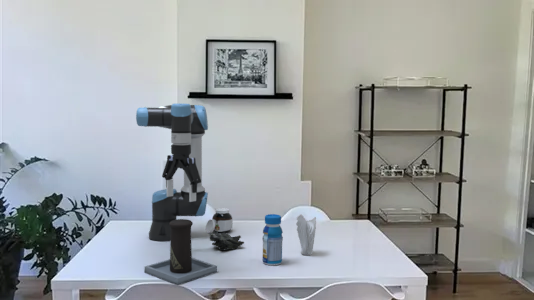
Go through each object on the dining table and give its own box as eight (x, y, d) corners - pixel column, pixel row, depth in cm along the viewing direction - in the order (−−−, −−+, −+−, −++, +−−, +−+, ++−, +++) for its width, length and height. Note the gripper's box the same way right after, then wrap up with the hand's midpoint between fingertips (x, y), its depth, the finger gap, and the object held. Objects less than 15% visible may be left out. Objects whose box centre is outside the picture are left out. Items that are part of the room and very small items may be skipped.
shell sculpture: (317, 252, 234) (318, 213, 233) (313, 257, 227) (314, 216, 225) (300, 250, 237) (300, 211, 235) (294, 255, 229) (295, 215, 228)
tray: (144, 272, 204) (144, 266, 204) (184, 261, 219) (184, 255, 219) (177, 285, 191) (177, 278, 191) (217, 272, 206) (217, 265, 206)
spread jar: (234, 231, 268) (234, 209, 267) (221, 236, 259) (221, 213, 258) (216, 228, 275) (216, 206, 274) (202, 232, 265) (202, 210, 264)
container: (170, 266, 209) (170, 217, 207) (193, 266, 210) (193, 217, 208) (168, 274, 200) (168, 222, 198) (191, 273, 201) (192, 222, 199)
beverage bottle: (275, 267, 213) (276, 219, 211) (258, 263, 217) (258, 216, 215) (286, 261, 220) (286, 215, 218) (268, 258, 225) (269, 212, 223)
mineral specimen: (228, 243, 227) (224, 222, 232) (206, 254, 232) (202, 233, 237) (248, 248, 239) (243, 227, 244) (226, 258, 244) (222, 237, 249)
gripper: (153, 142, 205) (153, 195, 207) (195, 147, 189) (195, 204, 191) (168, 141, 211) (168, 193, 213) (210, 145, 195) (210, 201, 197)
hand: (181, 198), depth 202 cm, fingers open, 13 cm apart
